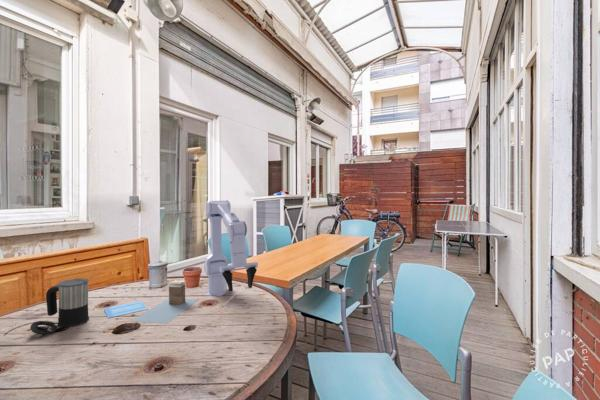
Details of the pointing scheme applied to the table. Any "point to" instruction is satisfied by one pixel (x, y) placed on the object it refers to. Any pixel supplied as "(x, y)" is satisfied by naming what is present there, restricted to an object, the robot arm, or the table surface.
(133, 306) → the blue streaked flat panel
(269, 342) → the table surface
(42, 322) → the milk frother
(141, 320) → the light blue mat
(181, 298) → the walnut block
